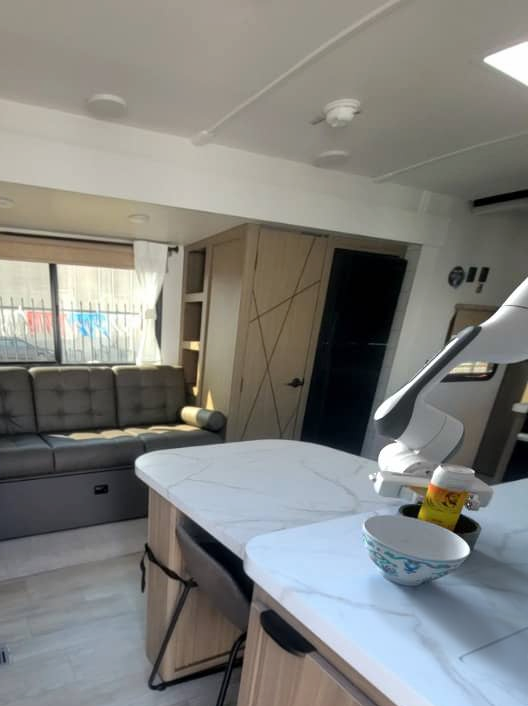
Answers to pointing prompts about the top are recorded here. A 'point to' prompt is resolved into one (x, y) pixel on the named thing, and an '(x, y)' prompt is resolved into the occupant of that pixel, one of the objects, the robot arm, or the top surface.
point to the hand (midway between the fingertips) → (447, 504)
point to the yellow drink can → (446, 495)
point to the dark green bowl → (463, 527)
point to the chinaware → (412, 548)
